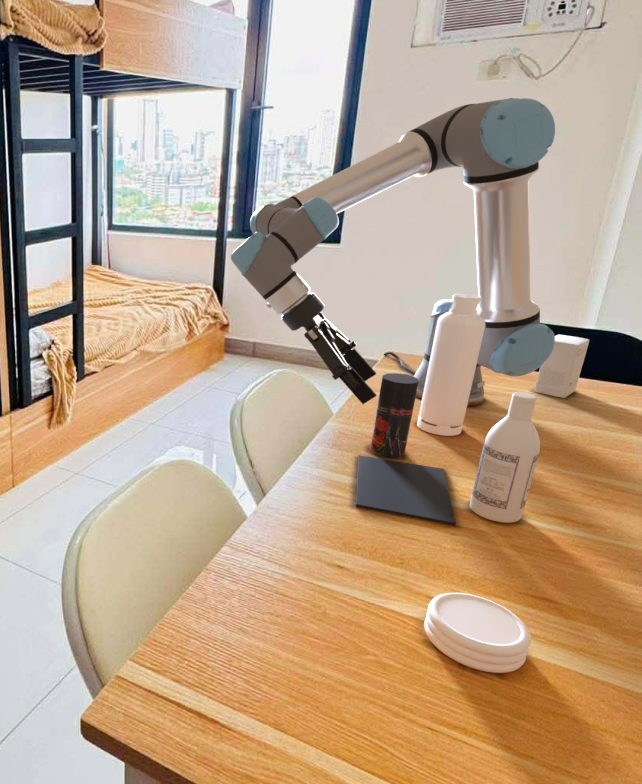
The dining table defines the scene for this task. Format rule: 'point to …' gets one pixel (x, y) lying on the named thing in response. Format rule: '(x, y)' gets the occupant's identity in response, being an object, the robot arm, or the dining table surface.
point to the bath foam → (507, 463)
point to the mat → (404, 489)
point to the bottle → (452, 367)
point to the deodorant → (393, 415)
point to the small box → (562, 367)
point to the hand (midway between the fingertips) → (370, 388)
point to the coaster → (477, 632)
